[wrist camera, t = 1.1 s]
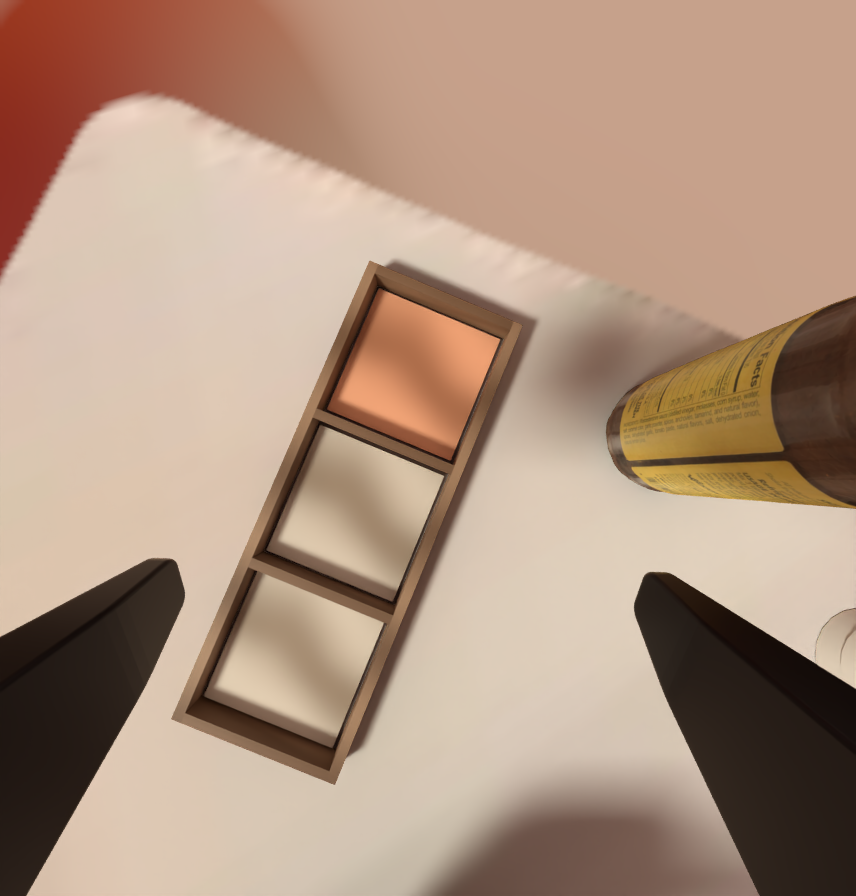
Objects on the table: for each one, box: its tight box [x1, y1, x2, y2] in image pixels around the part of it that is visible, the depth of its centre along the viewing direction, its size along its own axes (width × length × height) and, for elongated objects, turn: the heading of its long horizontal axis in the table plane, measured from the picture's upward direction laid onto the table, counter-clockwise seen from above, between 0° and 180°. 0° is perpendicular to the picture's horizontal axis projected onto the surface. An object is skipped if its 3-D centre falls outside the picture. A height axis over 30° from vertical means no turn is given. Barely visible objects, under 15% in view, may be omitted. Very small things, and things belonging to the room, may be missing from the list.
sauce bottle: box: [606, 296, 856, 509], centre depth 12 cm, size 6×6×20 cm
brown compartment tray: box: [171, 261, 523, 785], centre depth 21 cm, size 25×9×2 cm, turn 158°
